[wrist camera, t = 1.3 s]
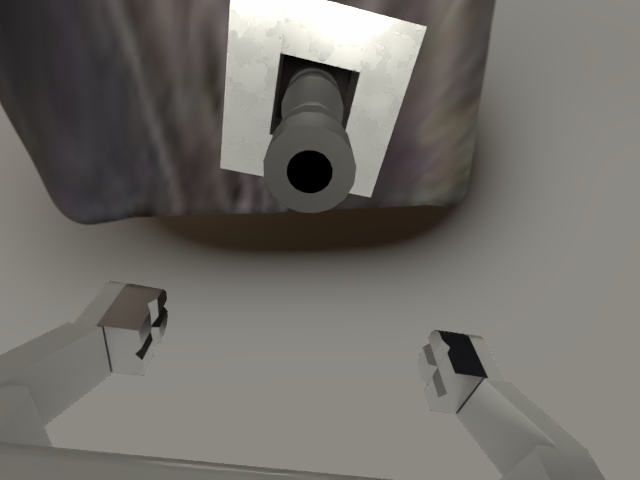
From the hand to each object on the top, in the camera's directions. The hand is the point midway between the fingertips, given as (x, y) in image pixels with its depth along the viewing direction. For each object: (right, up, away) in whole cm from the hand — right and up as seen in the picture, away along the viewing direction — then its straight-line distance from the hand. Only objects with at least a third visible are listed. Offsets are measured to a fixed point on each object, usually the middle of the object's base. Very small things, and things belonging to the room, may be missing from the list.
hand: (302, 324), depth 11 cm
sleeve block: (0, +21, +31) cm, 37 cm away
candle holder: (0, +21, +31) cm, 38 cm away
